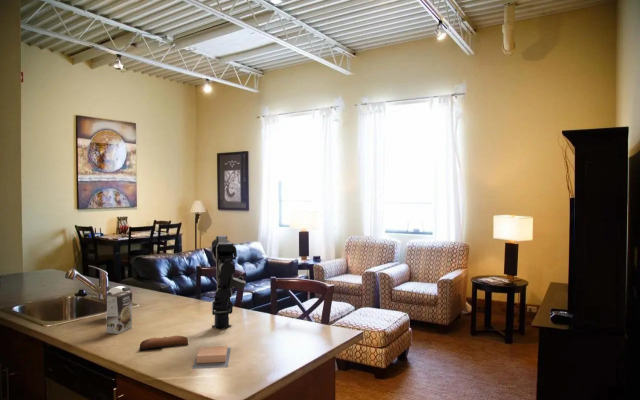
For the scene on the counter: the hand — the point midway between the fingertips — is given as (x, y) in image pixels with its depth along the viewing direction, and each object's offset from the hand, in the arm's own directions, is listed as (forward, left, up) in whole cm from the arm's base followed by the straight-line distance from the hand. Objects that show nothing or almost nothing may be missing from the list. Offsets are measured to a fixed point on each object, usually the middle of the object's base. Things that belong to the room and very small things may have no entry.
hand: (225, 309), depth 178 cm
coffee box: (-42, -25, -12) cm, 50 cm away
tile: (+13, -15, -10) cm, 22 cm away
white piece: (-63, -16, -12) cm, 66 cm away
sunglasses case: (-10, -22, -13) cm, 27 cm away
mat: (+16, -17, -12) cm, 26 cm away
